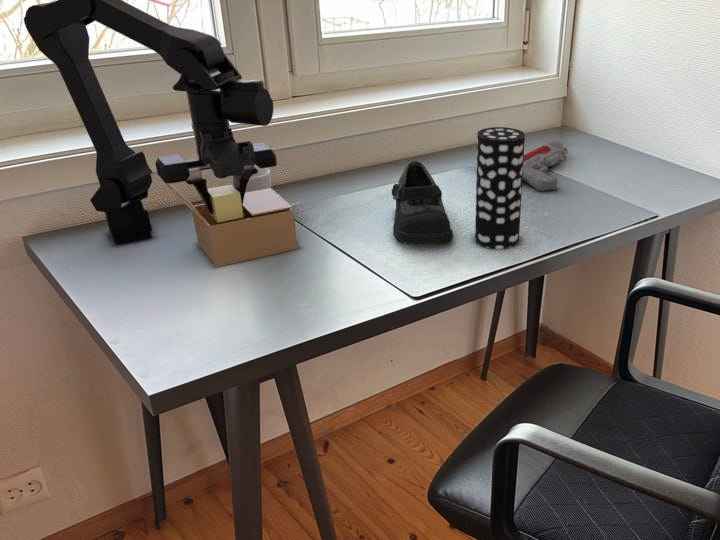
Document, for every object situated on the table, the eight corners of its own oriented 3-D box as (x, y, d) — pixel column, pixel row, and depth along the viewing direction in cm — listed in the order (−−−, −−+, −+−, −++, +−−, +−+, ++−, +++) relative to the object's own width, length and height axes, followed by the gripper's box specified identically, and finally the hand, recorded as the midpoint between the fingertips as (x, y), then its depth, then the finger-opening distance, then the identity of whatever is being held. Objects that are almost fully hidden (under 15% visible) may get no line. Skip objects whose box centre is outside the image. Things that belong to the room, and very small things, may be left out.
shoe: (397, 256, 132) (395, 203, 126) (386, 207, 151) (383, 159, 146) (457, 252, 134) (458, 200, 128) (438, 204, 153) (438, 157, 148)
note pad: (217, 222, 126) (213, 197, 124) (209, 214, 129) (205, 188, 127) (244, 217, 128) (240, 192, 126) (235, 209, 131) (231, 184, 129)
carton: (216, 267, 126) (208, 223, 122) (198, 244, 134) (190, 202, 129) (298, 248, 133) (293, 206, 129) (276, 228, 141) (271, 187, 136)
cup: (258, 224, 142) (252, 184, 138) (220, 220, 143) (213, 180, 139) (281, 204, 151) (276, 166, 147) (245, 201, 152) (239, 163, 148)
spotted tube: (473, 231, 142) (475, 127, 131) (515, 230, 143) (521, 127, 132) (476, 249, 135) (479, 140, 124) (521, 248, 136) (528, 140, 125)
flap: (208, 222, 122) (207, 224, 122) (190, 202, 129) (189, 203, 129) (175, 193, 117) (174, 194, 117) (158, 173, 124) (157, 174, 124)
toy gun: (600, 151, 177) (546, 137, 183) (549, 182, 158) (489, 165, 164) (598, 165, 179) (544, 151, 185) (547, 197, 160) (488, 180, 166)
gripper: (163, 140, 110) (183, 237, 118) (283, 124, 119) (294, 215, 127) (145, 122, 117) (166, 214, 126) (259, 108, 126) (271, 195, 135)
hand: (225, 210), depth 128 cm, fingers closed on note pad, 5 cm apart
